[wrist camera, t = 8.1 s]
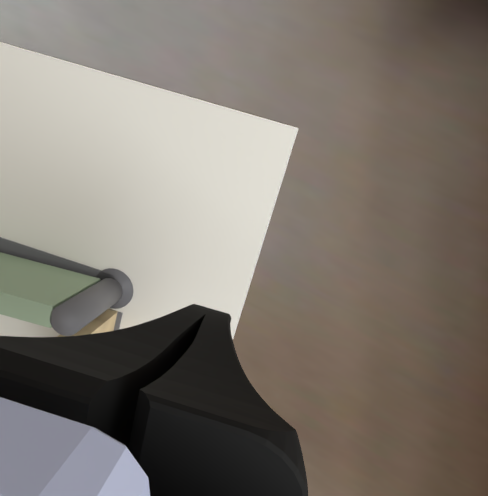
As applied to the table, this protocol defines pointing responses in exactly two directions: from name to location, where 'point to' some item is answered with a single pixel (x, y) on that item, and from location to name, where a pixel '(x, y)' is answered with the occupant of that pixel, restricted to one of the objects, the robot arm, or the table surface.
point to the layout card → (133, 187)
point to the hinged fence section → (53, 294)
